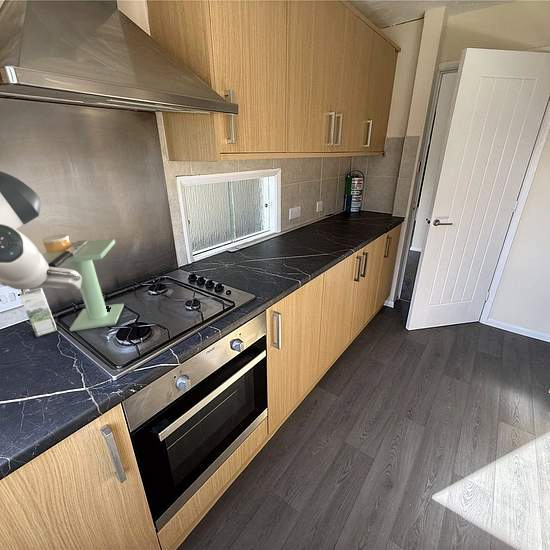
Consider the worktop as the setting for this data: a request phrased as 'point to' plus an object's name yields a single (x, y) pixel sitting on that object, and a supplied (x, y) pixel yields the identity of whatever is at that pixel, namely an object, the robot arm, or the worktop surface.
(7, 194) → the robot arm
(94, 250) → the cake stand
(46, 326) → the syrup box
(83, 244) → the cake knife
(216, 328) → the worktop surface
